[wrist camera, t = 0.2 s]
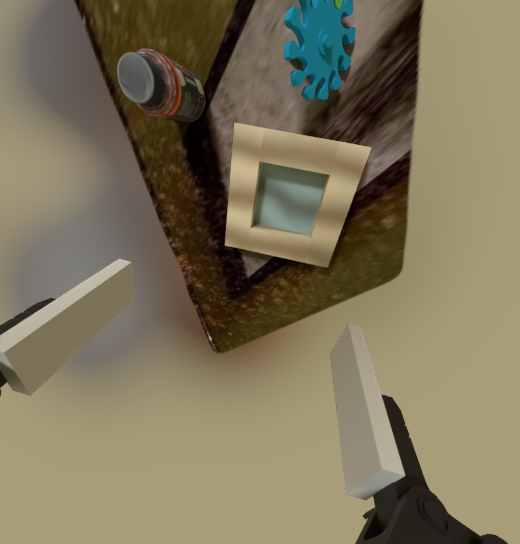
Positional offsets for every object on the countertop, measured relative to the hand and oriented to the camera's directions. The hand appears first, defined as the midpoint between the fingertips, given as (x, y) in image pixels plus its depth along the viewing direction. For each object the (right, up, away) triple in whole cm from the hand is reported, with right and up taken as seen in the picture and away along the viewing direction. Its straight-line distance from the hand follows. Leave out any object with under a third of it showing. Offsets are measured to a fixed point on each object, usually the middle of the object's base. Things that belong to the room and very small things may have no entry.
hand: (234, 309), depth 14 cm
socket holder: (+6, +14, +23) cm, 28 cm away
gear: (+9, +29, +14) cm, 34 cm away
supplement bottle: (-9, +27, +19) cm, 34 cm away
